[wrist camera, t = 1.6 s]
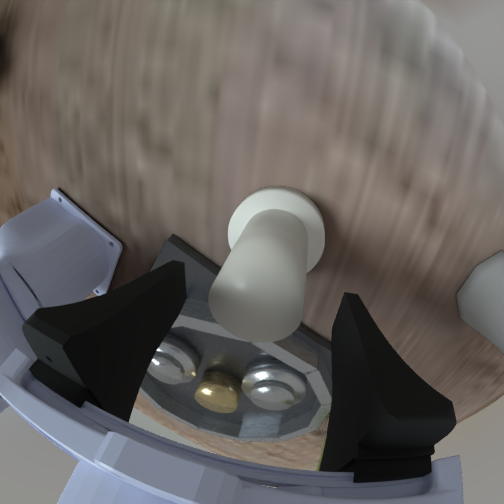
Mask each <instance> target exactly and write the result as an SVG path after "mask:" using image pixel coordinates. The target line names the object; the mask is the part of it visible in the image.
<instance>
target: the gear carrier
mask: <svg viewBox="0 0 504 504" xmlns="http://www.w3.org/2000/svg"><path fill="white" fill-rule="evenodd" d="M172 260H175V261H180V262H185V277H186V291H187V298H186V301H185V303H184V305H183V308H182V310H181V312H180V314H179V316H178V317H177V319H176V321H175V322H174V324H173V326H172V327H171V329H170V330H169V332H168V333H167V335H166V337H165V338H164V340H163V341H162V343H161V344H160V346H159V348H158V349H157V351H156V353H155V355H154V357H153V359H152V361H151V363H150V365H149V367H148V370H147V372H146V374H145V377H144V379H143V382H142V384H141V386H140V389H139V392H140V393H141V394H142V395H143V396H144V397H145V398H146V399H147V400H148V401H150V402H151V403H152V404H153V405H154V406H155V407H156V408H157V409H159V410H160V411H162V412H164V413H166V414H167V415H169V416H171V417H173V418H175V419H177V420H178V421H180V422H182V423H184V424H186V425H188V426H190V427H192V428H194V429H196V430H197V429H198V430H199V431H202V432H206V433H209V434H213V435H217V436H221V437H225V438H229V439H233V440H237V441H249V442H273V441H285V440H288V439H291V438H294V437H297V436H300V435H303V434H306V433H309V432H311V431H314V430H317V429H318V428H319V427H320V425H321V424H322V422H323V421H324V420H325V418H326V417H327V415H328V414H329V413H330V409H331V401H332V360H331V343H330V342H329V341H327V340H326V339H324V338H323V337H321V336H320V335H318V334H317V333H315V332H313V331H312V330H310V329H309V328H307V327H306V326H304V325H303V324H301V323H300V325H299V327H298V328H297V329H296V330H295V331H294V332H293V333H292V334H291V335H289V336H288V337H286V338H284V339H281V340H278V341H274V342H267V343H260V342H252V341H247V340H244V339H241V338H239V337H236V336H234V335H232V334H231V333H229V332H228V331H226V330H225V329H224V328H223V327H221V326H220V325H219V323H218V322H217V321H216V320H215V318H214V317H213V315H212V313H211V311H210V308H209V303H208V295H209V291H210V289H211V286H212V284H213V283H214V281H215V279H216V277H217V276H218V274H219V272H220V270H221V268H219V267H218V266H217V265H215V264H214V263H212V262H211V261H210V260H208V259H207V258H205V257H204V256H203V255H201V254H200V253H198V252H197V251H196V250H194V249H193V248H191V247H190V246H189V245H187V244H186V243H185V242H183V241H182V240H180V239H179V238H178V237H176V236H175V235H174V234H172V235H171V236H170V237H169V238H168V239H167V241H166V242H165V244H164V246H163V248H162V250H161V252H160V253H159V255H158V257H157V259H156V261H155V263H154V265H153V267H152V269H151V271H153V270H154V269H156V268H158V267H160V266H162V265H164V264H165V263H167V262H170V261H172ZM151 271H150V272H151Z"/></svg>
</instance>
